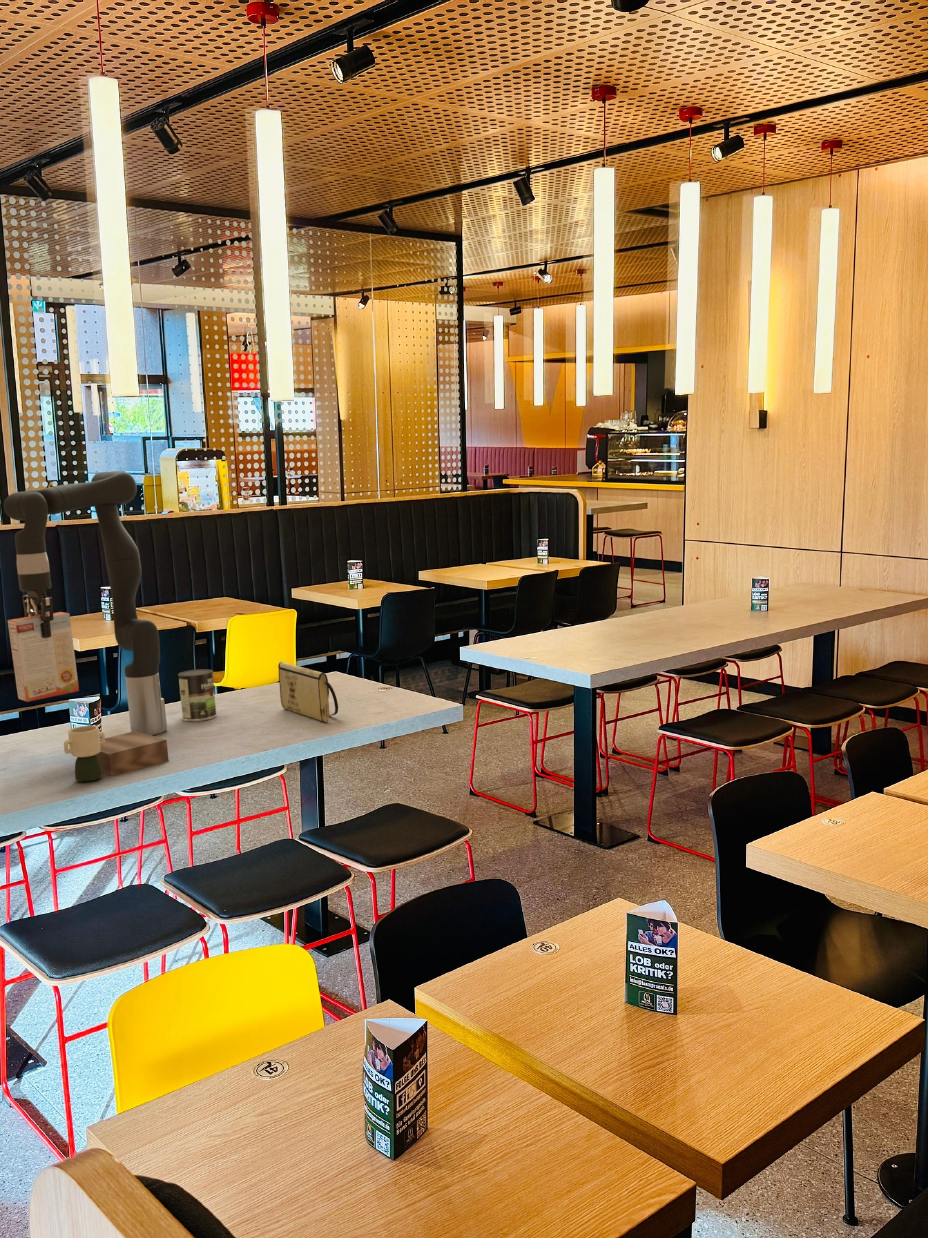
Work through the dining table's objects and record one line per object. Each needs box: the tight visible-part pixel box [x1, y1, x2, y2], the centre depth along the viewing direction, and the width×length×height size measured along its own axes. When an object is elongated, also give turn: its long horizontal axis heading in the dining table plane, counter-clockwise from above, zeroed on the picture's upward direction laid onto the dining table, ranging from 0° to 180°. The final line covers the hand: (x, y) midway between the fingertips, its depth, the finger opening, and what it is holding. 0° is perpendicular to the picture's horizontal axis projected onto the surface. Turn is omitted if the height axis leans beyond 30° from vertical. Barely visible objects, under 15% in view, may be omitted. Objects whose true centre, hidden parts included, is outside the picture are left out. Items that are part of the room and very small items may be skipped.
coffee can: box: [177, 668, 218, 722], centre depth 315 cm, size 10×10×14 cm
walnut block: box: [96, 731, 169, 777], centre depth 269 cm, size 16×16×6 cm
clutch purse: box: [277, 661, 339, 724], centre depth 311 cm, size 30×7×15 cm, turn 37°
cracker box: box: [7, 611, 80, 703], centre depth 266 cm, size 14×6×21 cm, turn 134°
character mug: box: [63, 725, 106, 782], centre depth 255 cm, size 11×7×13 cm, turn 141°
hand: (41, 636), depth 265 cm, fingers closed on cracker box, 6 cm apart
